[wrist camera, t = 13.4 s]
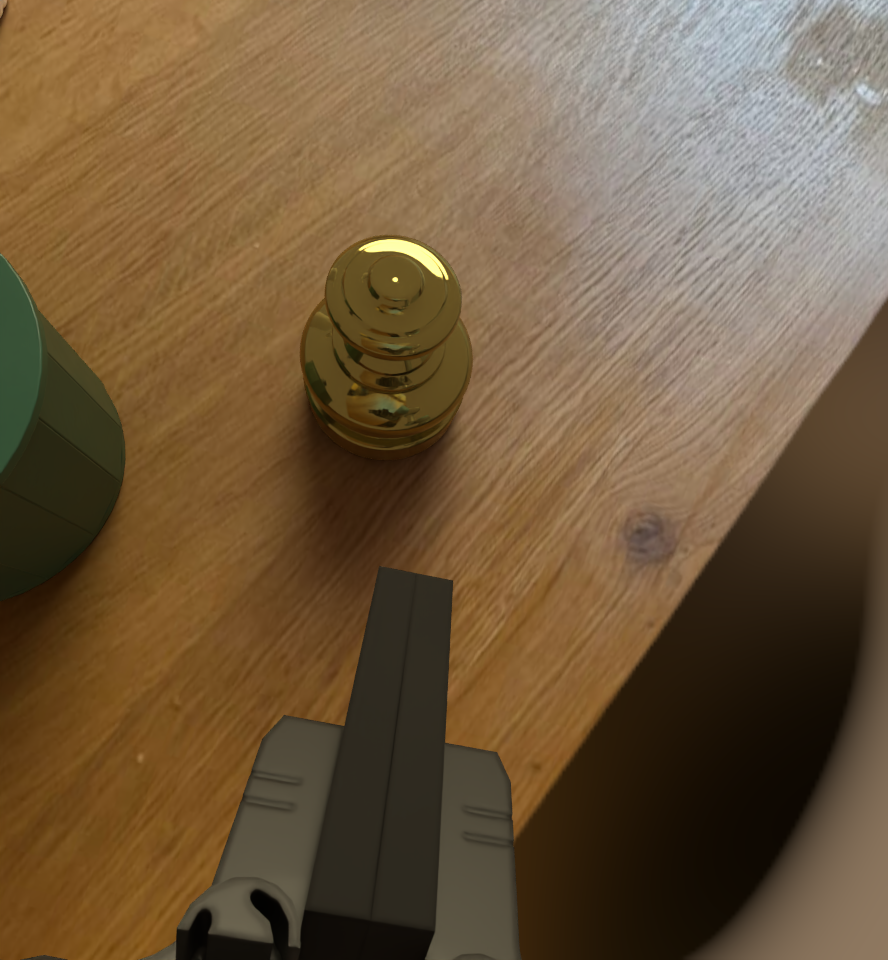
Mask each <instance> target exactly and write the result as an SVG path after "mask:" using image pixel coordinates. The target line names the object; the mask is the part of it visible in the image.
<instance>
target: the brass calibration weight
mask: <svg viewBox="0 0 888 960" xmlns="http://www.w3.org/2000/svg"><path fill="white" fill-rule="evenodd" d="M461 304H462V296H461V289H460V284H459V281H458V279H457V276H456V274H455V272H454V270H453V269H452V267H451V266H450V264H449V263H448V262H447V261H446V259H445V258H444V257H443V256H442V255H441V254H440V253H438V252H437V251H436V250H434V249H433V248H432V247H430V246H428V245H427V244H425V243H423V242H421V241H418V240H416V239H413V238H409V237H405V236H400V235H379V236H373V237H369V238H366V239H363V240H361V241H358V242H356V243H354V244H353V245H351V246H350V247H348V248H347V249H346V250H344V251H343V252H342V253H341V254H340V255H339V256H338V258H337V259H336V260H335V262H334V263H333V265H332V267H331V269H330V271H329V273H328V276H327V280H326V285H325V298H324V299H323V300H322V301H321V302H320V303H319V304H318V305H317V306H316V307H315V309H314V310H313V312H312V313H311V315H310V317H309V318H308V320H307V323H306V325H305V327H304V330H303V333H302V338H301V343H300V362H301V368H302V373H303V379H304V386H305V390H306V394H307V397H308V400H309V404H310V408H311V410H312V413H313V415H314V417H315V419H316V421H317V423H318V425H319V426H320V427H321V429H322V430H323V431H324V432H325V434H326V435H327V436H328V437H329V438H330V439H331V440H332V441H334V442H335V443H336V444H337V445H339V446H340V447H342V448H343V449H345V450H347V451H349V452H351V453H353V454H356V455H359V456H361V457H365V458H369V459H375V460H397V459H402V458H406V457H410V456H413V455H416V454H418V453H420V452H422V451H424V450H425V449H427V448H429V447H430V446H432V445H433V444H434V443H435V442H436V441H438V440H439V439H440V438H441V437H442V435H443V434H444V433H445V432H446V430H447V429H448V427H449V426H450V424H451V422H452V420H453V418H454V416H455V414H456V413H457V411H458V409H459V407H460V405H461V402H462V399H463V396H464V394H465V392H466V390H467V387H468V385H469V382H470V378H471V374H472V367H473V354H472V346H471V341H470V338H469V335H468V332H467V329H466V327H465V325H464V323H463V321H462V320H461V318H460V313H461Z"/></svg>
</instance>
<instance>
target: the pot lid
mask: <svg viewBox="0 0 888 960" xmlns="http://www.w3.org/2000/svg"><path fill="white" fill-rule="evenodd" d="M47 377H48V351H47V345H46V338H45V332H44V327H43V324H42V321H41V318H40V315H39V312H38V309H37V306H36V304H35V302H34V300H33V298H32V296H31V294H30V292H29V290H28V288H27V286H26V284H25V283H24V282H23V280H22V279H21V277H20V276H19V275H18V273H17V272H16V271H15V269H14V268H13V266H12V265H11V264H10V263H9V262H8V261H7V259H6V258H5V257H4V256H3V255H2V254H1V253H0V486H1V485H2V484H3V483H4V481H5V480H6V479H7V478H8V477H9V475H10V474H11V472H12V471H13V469H14V467H15V466H16V464H17V463H18V461H19V459H20V458H21V456H22V455H23V453H24V451H25V449H26V447H27V445H28V443H29V441H30V439H31V436H32V434H33V432H34V430H35V428H36V425H37V422H38V419H39V415H40V412H41V409H42V405H43V402H44V396H45V390H46V383H47Z"/></svg>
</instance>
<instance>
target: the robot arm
mask: <svg viewBox="0 0 888 960" xmlns="http://www.w3.org/2000/svg"><path fill="white" fill-rule="evenodd" d="M452 592H453V581H452V580H447V579H442V578H437V577H432V576H427V575H422V574H417V573H412V572H407V571H402V570H397V569H392V568H387V567H382V566H379V570H378V574H377V579H376V584H375V588H374V593H373V597H372V602H371V606H370V611H369V616H368V620H367V625H366V629H365V634H364V639H363V643H362V648H361V652H360V657H359V662H358V666H357V671H356V675H355V680H354V684H353V689H352V694H351V698H350V703H349V707H348V712H347V717H346V721H345V726H341V725H335V724H330V723H324V722H319V721H314V720H308V719H303V718H297V717H292V716H286V715H284V716H283V717H282V718H281V719H280V720H279V721H278V722H277V724H276V725H275V726H274V727H273V728H272V729H271V730H270V731H269V732H268V733H267V734H266V736H265V737H264V738H263V739H262V742H261V744H260V747H259V750H258V753H257V756H256V759H255V762H254V765H253V767H252V771H251V775H250V776H249V779H248V782H247V785H246V788H245V791H244V793H243V798H242V801H241V802H240V805H239V808H238V811H237V814H236V817H235V819H234V822H233V825H232V828H231V831H230V834H229V837H228V840H227V843H226V845H225V848H224V851H223V854H222V857H221V860H220V863H219V866H218V869H217V871H216V874H215V877H214V880H213V883H212V886H211V887H210V888H208V889H207V890H206V891H205V892H204V893H203V894H202V895H201V896H199V897H198V898H197V899H196V900H195V901H194V902H193V903H191V904H190V906H189V908H188V910H187V911H186V913H185V915H184V917H183V918H182V920H181V922H180V923H179V925H178V927H177V936H176V941H175V942H174V943H173V944H171V945H170V946H168V947H166V948H165V949H163V950H161V951H159V952H158V953H156V954H154V955H152V956H149V957H146V958H142V959H139V960H521V956H520V949H519V933H518V913H517V894H516V878H515V877H516V875H515V856H514V847H513V841H514V837H513V820H512V798H511V782H510V779H509V777H508V775H507V773H506V771H505V769H504V766H503V764H502V762H501V760H500V758H499V756H498V753H497V752H492V751H487V750H481V749H476V748H471V747H465V746H460V745H454V744H449V743H445V731H446V711H447V691H448V671H449V651H450V632H451V612H452ZM22 960H66V959H61V958H56V957H52V956H47V955H42V956H37V957H32V958H27V959H22Z"/></svg>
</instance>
